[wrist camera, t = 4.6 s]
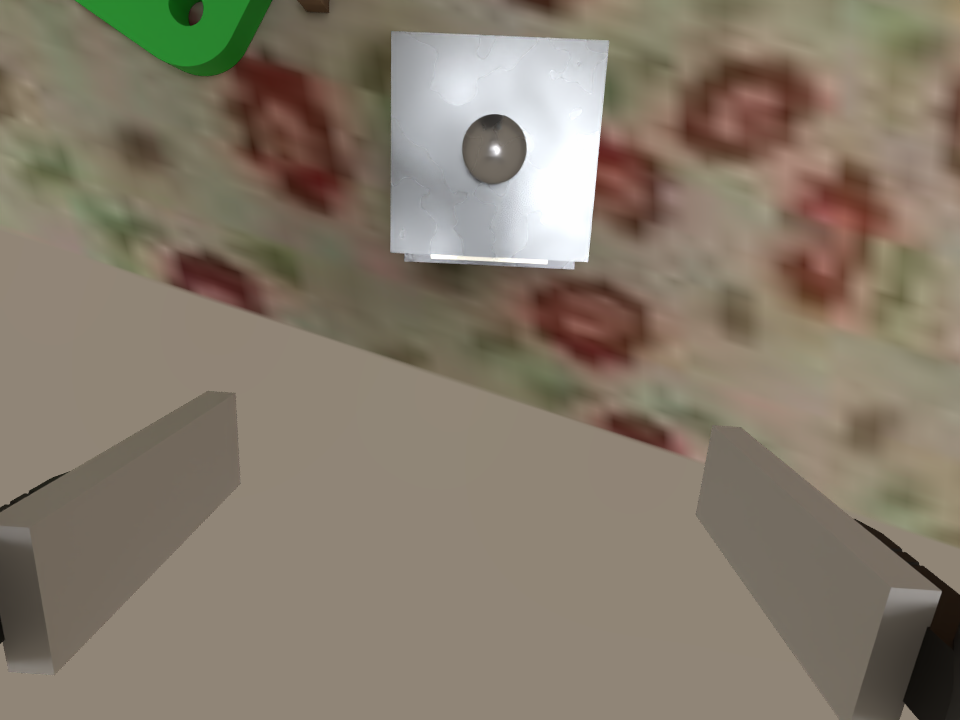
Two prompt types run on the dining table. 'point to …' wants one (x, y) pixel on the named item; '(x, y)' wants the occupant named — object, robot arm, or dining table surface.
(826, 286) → the dining table surface
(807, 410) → the dining table surface
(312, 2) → the bay
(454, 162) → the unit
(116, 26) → the mechanical part
